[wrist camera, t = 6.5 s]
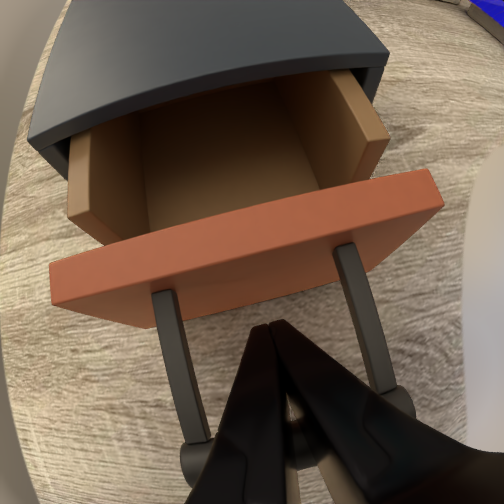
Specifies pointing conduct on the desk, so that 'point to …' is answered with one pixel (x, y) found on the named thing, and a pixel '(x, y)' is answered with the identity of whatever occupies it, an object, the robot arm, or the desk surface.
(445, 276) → the desk surface
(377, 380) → the drawer
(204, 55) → the cabinet
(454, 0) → the white packaging box
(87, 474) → the desk surface
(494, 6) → the roof
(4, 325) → the desk surface
